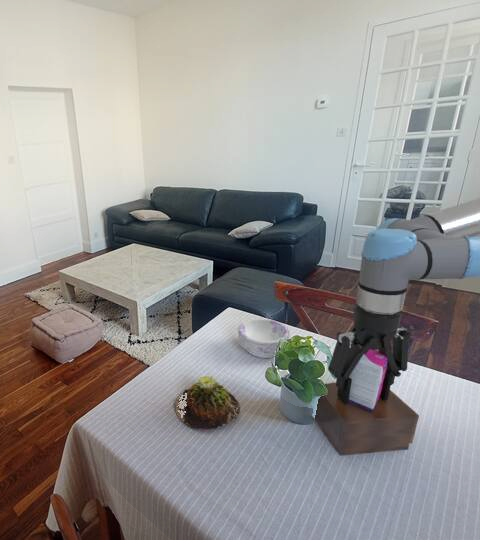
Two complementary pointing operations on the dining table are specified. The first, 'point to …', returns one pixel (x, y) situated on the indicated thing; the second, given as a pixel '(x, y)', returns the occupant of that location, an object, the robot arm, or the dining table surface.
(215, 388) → the cactus
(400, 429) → the cabinet
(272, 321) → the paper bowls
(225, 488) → the dining table surface
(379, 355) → the supplement box
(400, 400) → the drawer
